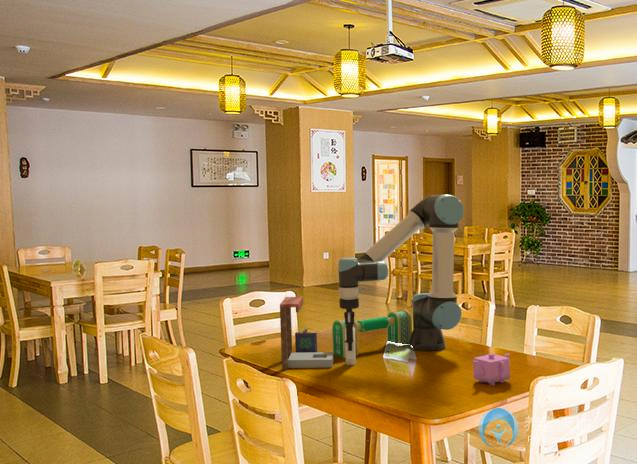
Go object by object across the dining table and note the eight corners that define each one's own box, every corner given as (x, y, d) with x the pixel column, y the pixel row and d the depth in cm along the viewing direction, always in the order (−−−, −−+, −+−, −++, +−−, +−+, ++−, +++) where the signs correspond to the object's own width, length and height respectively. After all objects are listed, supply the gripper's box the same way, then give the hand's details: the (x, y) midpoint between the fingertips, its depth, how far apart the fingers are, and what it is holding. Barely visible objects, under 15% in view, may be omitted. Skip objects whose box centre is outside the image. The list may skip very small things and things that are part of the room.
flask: (317, 352, 283) (316, 327, 283) (317, 354, 280) (316, 328, 280) (295, 352, 284) (294, 327, 283) (295, 354, 281) (294, 329, 280)
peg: (356, 362, 265) (355, 327, 264) (355, 365, 261) (354, 329, 260) (345, 362, 265) (344, 327, 264) (345, 365, 261) (344, 329, 260)
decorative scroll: (344, 358, 273) (343, 321, 272) (332, 354, 280) (331, 318, 279) (412, 345, 292) (411, 311, 291) (399, 341, 299) (399, 308, 298)
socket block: (333, 359, 270) (333, 352, 270) (332, 367, 258) (331, 359, 258) (291, 360, 272) (291, 352, 271) (288, 367, 260) (287, 360, 260)
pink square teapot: (494, 373, 244) (493, 346, 243) (523, 381, 233) (522, 353, 232) (457, 381, 234) (457, 354, 233) (486, 390, 223) (485, 361, 222)
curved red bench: (304, 358, 274) (302, 296, 273) (300, 369, 256) (298, 304, 255) (287, 358, 275) (285, 296, 273) (282, 369, 257) (279, 304, 255)
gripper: (340, 294, 270) (341, 352, 271) (338, 301, 253) (340, 362, 255) (358, 294, 270) (360, 351, 271) (358, 301, 253) (359, 362, 254)
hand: (350, 357), depth 263 cm, fingers closed on peg, 4 cm apart
